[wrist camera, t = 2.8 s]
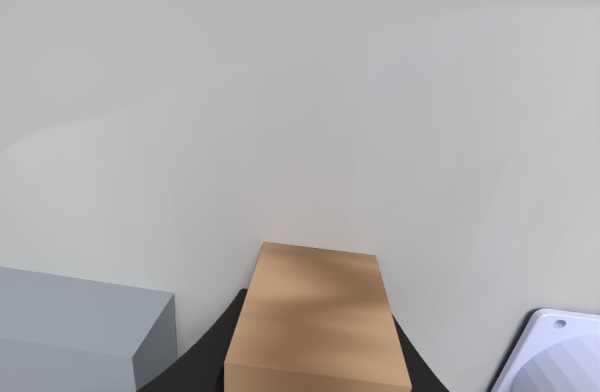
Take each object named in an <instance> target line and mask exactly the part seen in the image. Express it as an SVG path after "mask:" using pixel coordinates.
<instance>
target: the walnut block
mask: <svg viewBox="0 0 600 392" xmlns="http://www.w3.org/2000/svg"><path fill="white" fill-rule="evenodd" d="M411 389H412V385H411V382H410V378H409V374H408V371H407V367H406V363H405V360H404V356H403V353H402V349H401V345H400V342H399V338H398V335H397V331H396V327H395V324H394V320H393V317H392V313H391V309H390V306H389V302H388V299H387V295H386V291H385V288H384V284H383V281H382V277H381V273H380V270H379V266H378V263H377V259H376V256H374V255H366V254H358V253H350V252H342V251H333V250H325V249H317V248H309V247H301V246H293V245H285V244H276V243H268V242H264V243H263V246H262V249H261V252H260V256H259V259H258V262H257V265H256V268H255V271H254V274H253V277H252V280H251V283H250V286H249V289H248V292H247V295H246V298H245V301H244V304H243V307H242V310H241V313H240V316H239V319H238V322H237V325H236V328H235V331H234V334H233V337H232V340H231V343H230V346H229V349H228V352H227V356H226V359H225V362H224V392H411Z"/></svg>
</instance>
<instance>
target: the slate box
mask: <svg viewBox="0 0 600 392" xmlns="http://www.w3.org/2000/svg"><path fill="white" fill-rule="evenodd" d="M175 361H177V345H176V324H175V303H174V293H170V292H164V291H157V290H150V289H144V288H137V287H130V286H124V285H117V284H111V283H104V282H97V281H91V280H84V279H78V278H71V277H64V276H58V275H51V274H44V273H38V272H31V271H25V270H18V269H11V268H5V267H0V392H136V391H137V390H139V389H140V388H141V387H143V386H144V385H146V384H147V383H148V382H150V381H151V380H153V379H154V378H155V377H157V376H158V375H159V374H161V373H162V372H163V371H165V370H166V369H167V368H168V367H169V366H171V365H172V364H173V363H174V362H175Z"/></svg>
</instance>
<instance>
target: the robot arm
mask: <svg viewBox="0 0 600 392" xmlns="http://www.w3.org/2000/svg"><path fill="white" fill-rule="evenodd" d="M247 292H248V289H242V290H240V291H239V293H238V295H237V296H236V297H235V299H234V300H233V301H232V303H231V304H230V305H229V307H228V308H227V309H226V311H225V312H224V313H223V314H222V315H221V316H220V318H219V319H218V320H217V321H216V322H215V324H214V325H213V326H212V327H211V328H210V329H209V330H208V331H207V332H206V333H205V334H204V335H203V336H202V337H201V338H200V339H199V340H198V341H197V342H196V343H195V344H194V345H193V346H192V347H191V348H190V349H189V350H188V351H187V352H186V353H185V354H184V355H182V356H181V357H180V358H179V359H178V360H177V361H175V362H174V363H173V364H172V365H171V366H169V367H168V368H167V369H166V370H165V371H163V372H162V373H161V374H159V375H158V376H157V377H155V378H154V379H153V380H151V381H150V382H148V383H147V384H146V385H144V386H143V387H141V388H140V389H139V390H137V391H136V392H224V362H225V359H226V356H227V352H228V349H229V346H230V343H231V340H232V337H233V334H234V331H235V328H236V325H237V322H238V319H239V316H240V313H241V310H242V307H243V304H244V301H245V298H246V295H247ZM392 317H393V320H394V324H395V327H396V331H397V335H398V338H399V342H400V345H401V349H402V353H403V356H404V360H405V363H406V367H407V371H408V374H409V378H410V382H411V385H412V389H411V392H449V391H448V390H447V388H446V387H445V386H444V385H443V384H442V383H441V382H440V380H439V379H438V378H437V377H436V376H435V374H434V373H433V372H432V371H431V369H430V368H429V367H428V365H427V364H426V363H425V362H424V360H423V359H422V357H421V356H420V355H419V353H418V352H417V351H416V349H415V348H414V346H413V345H412V343H411V342H410V341H409V339H408V338H407V336H406V335H405V333H404V332H403V330H402V329H401V327H400V325H399V324H398V322H397V321H396V319H395V318H394V316H393V314H392ZM491 392H600V315H594V314H586V313H578V312H570V311H562V310H554V309H540V310H537V311H536V312H534V314H533V315H532V316H531V318H530V320H529V322H528V324H527V326H526V327H525V329H524V331H523V333H522V335H521V337H520V339H519V340H518V342H517V344H516V346H515V348H514V350H513V352H512V353H511V355H510V357H509V359H508V361H507V363H506V365H505V366H504V368H503V370H502V372H501V374H500V376H499V378H498V379H497V381H496V383H495V385H494V387H493V389H492V391H491Z"/></svg>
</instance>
